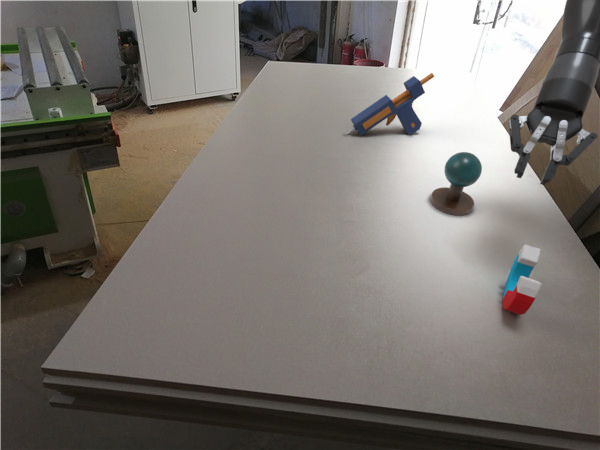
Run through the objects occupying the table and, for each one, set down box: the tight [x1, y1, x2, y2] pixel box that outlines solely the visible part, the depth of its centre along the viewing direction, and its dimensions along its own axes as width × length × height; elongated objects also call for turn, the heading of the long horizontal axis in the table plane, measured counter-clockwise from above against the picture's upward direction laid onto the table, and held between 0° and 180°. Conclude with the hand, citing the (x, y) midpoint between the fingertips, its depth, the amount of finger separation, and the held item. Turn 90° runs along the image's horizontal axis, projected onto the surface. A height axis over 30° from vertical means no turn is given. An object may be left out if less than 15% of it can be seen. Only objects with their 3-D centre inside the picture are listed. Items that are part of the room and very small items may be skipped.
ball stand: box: [429, 151, 483, 216], centre depth 95 cm, size 10×10×14 cm
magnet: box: [502, 244, 542, 315], centre depth 71 cm, size 12×3×10 cm, turn 155°
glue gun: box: [345, 72, 435, 136], centre depth 126 cm, size 6×31×15 cm
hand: (531, 179), depth 68 cm, fingers open, 3 cm apart
